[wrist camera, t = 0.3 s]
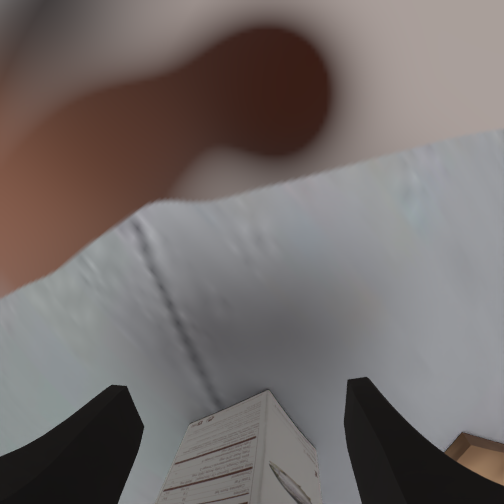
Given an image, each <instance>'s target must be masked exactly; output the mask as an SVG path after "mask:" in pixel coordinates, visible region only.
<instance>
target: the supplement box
mask: <svg viewBox="0 0 504 504" xmlns="http://www.w3.org/2000/svg"><path fill="white" fill-rule="evenodd" d="M155 504H322V495H321V486H320V476H319V467H318V459H317V451H316V449H315V448H314V447H313V446H312V445H311V443H310V442H309V441H308V440H307V439H306V438H305V437H304V436H303V434H302V433H301V432H300V431H299V430H298V428H297V427H296V426H295V425H294V423H293V422H292V421H291V419H290V418H289V417H288V415H287V414H286V413H285V411H284V410H283V409H282V407H281V406H280V405H279V403H278V402H277V400H276V399H275V398H274V396H273V395H272V393H271V392H270V390H267V391H265V392H262V393H260V394H258V395H255V396H253V397H251V398H249V399H247V400H245V401H242V402H240V403H238V404H236V405H234V406H231V407H229V408H227V409H224V410H222V411H220V412H217V413H215V414H213V415H210V416H208V417H205V418H203V419H201V420H198V421H196V422H193V423H191V424H189V426H188V428H187V431H186V433H185V435H184V438H183V440H182V442H181V444H180V446H179V449H178V451H177V453H176V456H175V458H174V461H173V463H172V465H171V467H170V470H169V472H168V474H167V477H166V479H165V481H164V484H163V486H162V488H161V491H160V493H159V495H158V498H157V500H156V502H155Z"/></svg>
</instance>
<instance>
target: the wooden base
mask: <svg viewBox="0 0 504 504" xmlns="http://www.w3.org/2000/svg"><path fill="white" fill-rule="evenodd" d="M444 453H445V454H446V455H448V456H449V457H450V458H452V459H454V460H455V461H457V462H458V463H460V464H461V465H463V466H465V467H466V468H468V469H470V470H472V471H474V472H476V473H477V474H479V475H481V476H483V477H485V478H487V479H489V480H491V481H494V482H496V483H498V484H501V485H503V486H504V444H501V443H498V442H494V441H490V440H487V439H483V438H480V437H476V436H473V435H469V434H466V433H463V432H462V433H461V434H460V435H459V437H458V438H457V439H456V440H455V441H454V442H453V444H452V445H451V446H450V447H449V448H448V449H447V450H446V451H445V452H444Z"/></svg>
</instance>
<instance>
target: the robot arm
mask: <svg viewBox="0 0 504 504" xmlns="http://www.w3.org/2000/svg"><path fill="white" fill-rule="evenodd" d="M344 428H345V435H346V442H347V448H348V453H349V456H350V460H351V464H352V468H353V471H354V475H355V479H356V482H357V486H358V490H359V494H360V498H361V501H362V504H504V486H503V485H501V484H498V483H496V482H494V481H491V480H489V479H487V478H485V477H483V476H481V475H479V474H477V473H476V472H474V471H472V470H470V469H468V468H466V467H465V466H463V465H461V464H460V463H458V462H457V461H455V460H454V459H452V458H450V457H449V456H448V455H446V454H445V453H443V452H442V451H441V450H439V449H438V448H437V447H435V446H434V445H433V444H432V443H431V442H429V441H428V440H427V439H426V438H425V437H423V436H422V435H421V434H420V433H419V432H418V431H417V430H416V429H415V428H414V427H412V426H411V425H410V424H409V423H408V422H407V421H406V420H405V419H404V418H403V417H402V416H401V415H400V414H399V413H398V412H397V410H396V409H395V408H394V407H393V406H392V405H391V404H390V403H389V402H388V401H387V399H386V398H385V397H384V396H383V395H382V394H381V393H380V391H379V390H378V389H377V388H376V387H375V385H374V384H373V383H372V382H371V380H370V379H369V378H367V377H363V378H356V379H349V380H348V381H347V394H346V405H345V416H344ZM143 430H144V425H143V423H142V420H141V418H140V416H139V414H138V412H137V409H136V407H135V405H134V402H133V400H132V398H131V395H130V393H129V391H128V388H127V386H120V385H111V386H109V387H108V388H106V389H105V390H104V391H102V392H101V393H100V394H98V395H97V396H96V397H95V398H93V399H92V400H91V401H89V402H88V403H87V404H86V405H84V406H83V407H82V408H81V409H79V410H78V411H77V412H75V413H74V414H73V415H72V416H70V417H69V418H68V419H66V420H65V421H63V422H62V423H60V424H59V425H58V426H56V427H55V428H53V429H52V430H50V431H49V432H48V433H46V434H45V435H43V436H41V437H40V438H38V439H36V440H35V441H33V442H31V443H29V444H27V445H25V446H24V447H21V448H19V449H17V450H15V451H13V452H10V453H8V454H6V455H3V456H1V457H0V504H118V501H119V498H120V496H121V493H122V491H123V488H124V486H125V483H126V481H127V478H128V476H129V473H130V471H131V468H132V466H133V463H134V461H135V458H136V456H137V453H138V450H139V447H140V443H141V439H142V434H143Z"/></svg>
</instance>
